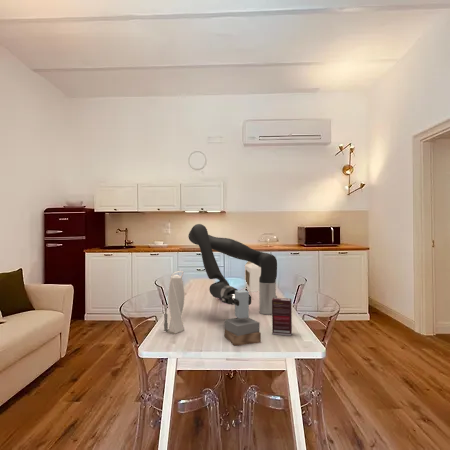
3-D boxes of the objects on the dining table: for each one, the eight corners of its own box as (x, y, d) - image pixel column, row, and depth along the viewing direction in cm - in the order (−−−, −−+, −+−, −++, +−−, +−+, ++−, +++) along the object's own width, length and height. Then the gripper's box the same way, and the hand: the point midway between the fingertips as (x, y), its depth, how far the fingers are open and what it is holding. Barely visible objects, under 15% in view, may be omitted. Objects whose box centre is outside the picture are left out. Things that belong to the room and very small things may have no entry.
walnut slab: (249, 334, 155) (249, 324, 154) (260, 343, 143) (260, 332, 143) (224, 337, 151) (224, 327, 150) (234, 346, 139) (234, 336, 139)
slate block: (244, 314, 150) (244, 289, 150) (248, 317, 145) (248, 291, 145) (234, 315, 148) (234, 290, 148) (238, 318, 144) (238, 292, 144)
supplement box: (291, 332, 155) (292, 298, 155) (291, 336, 151) (291, 300, 151) (273, 331, 158) (273, 297, 158) (271, 334, 153) (271, 299, 153)
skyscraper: (176, 327, 164) (176, 270, 164) (188, 331, 159) (188, 271, 159) (163, 332, 158) (162, 272, 158) (174, 335, 153) (174, 273, 152)
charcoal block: (245, 324, 154) (245, 316, 154) (259, 331, 145) (259, 322, 145) (224, 328, 149) (224, 319, 149) (237, 336, 139) (237, 326, 139)
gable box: (244, 286, 268) (244, 251, 268) (261, 286, 270) (261, 251, 270) (250, 292, 246) (250, 254, 246) (268, 292, 248) (268, 253, 248)
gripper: (216, 287, 158) (228, 295, 142) (244, 286, 163) (259, 293, 146) (216, 303, 158) (228, 313, 142) (244, 301, 163) (259, 310, 146)
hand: (244, 302), depth 144 cm, fingers closed on slate block, 4 cm apart
